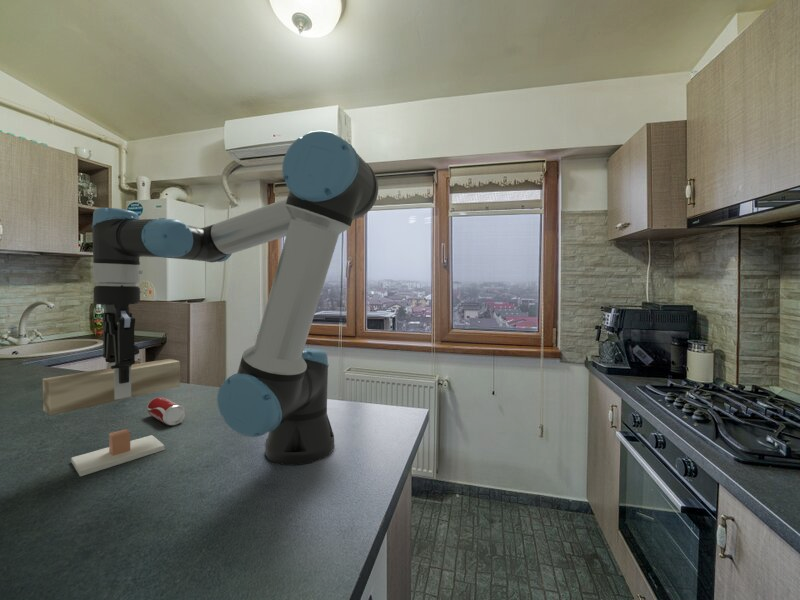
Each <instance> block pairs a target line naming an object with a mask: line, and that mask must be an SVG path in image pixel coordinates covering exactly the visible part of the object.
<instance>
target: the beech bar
mask: <svg viewBox="0 0 800 600" xmlns="http://www.w3.org/2000/svg"><path fill="white" fill-rule="evenodd" d="M180 387H181V361H180V360H176V359H174V358H173V359H172V358H166V359H161V360H154V361H145V362H142V363H141V362H140V363H138V364H134V365H132V366H131V397H127V398H122V399H117V400H115V399H114V369H111V368H108V369H106V368H103V369H96V370H91V371H90V370H89V371H84V372H78V373H72V374H65V375H60V376H59V375H57V376H52V377H51V376H50V377H45V378H42V404H43V405H42V409H43V412H45V413H46V414H48V415H49V416H54V415H55V416H56V415H59V414H65V413H69V412H72V411H78V410H82V409H86V408H91V407H95V406H99V405H104V404H108V403H112V402H117V401H121V400H126V399H130V398H135V397H136V398H137V397H141V396H144V395H148V394H153V393H157V392H163V391H166V390H170V389H175V388H180Z"/></svg>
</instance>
